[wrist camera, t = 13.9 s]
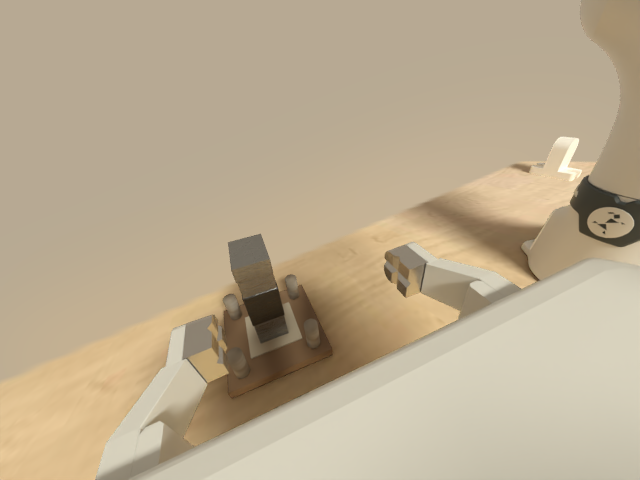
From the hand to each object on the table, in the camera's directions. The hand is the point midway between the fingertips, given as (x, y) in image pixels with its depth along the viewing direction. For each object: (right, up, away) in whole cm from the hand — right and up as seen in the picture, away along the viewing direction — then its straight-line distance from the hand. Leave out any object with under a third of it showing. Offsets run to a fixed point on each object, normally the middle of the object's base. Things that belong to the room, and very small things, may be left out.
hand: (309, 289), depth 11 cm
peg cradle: (-6, -10, +21) cm, 24 cm away
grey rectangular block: (-6, -9, +20) cm, 23 cm away
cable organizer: (+67, +21, +57) cm, 91 cm away
